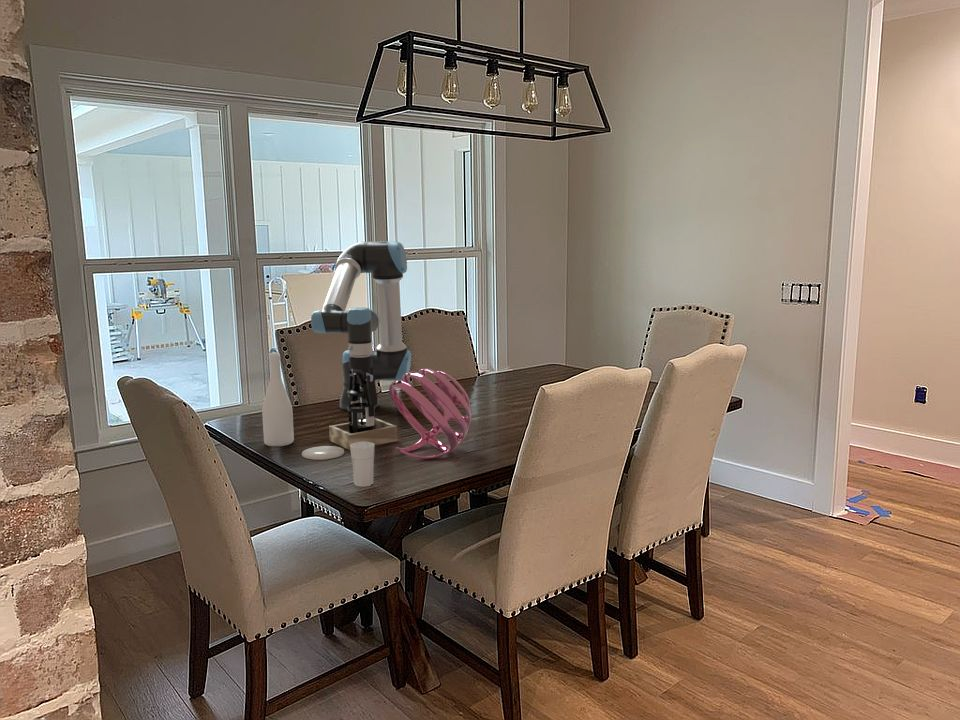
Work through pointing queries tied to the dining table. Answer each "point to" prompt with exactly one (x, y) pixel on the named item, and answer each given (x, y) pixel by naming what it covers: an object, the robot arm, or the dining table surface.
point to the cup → (362, 463)
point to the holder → (363, 434)
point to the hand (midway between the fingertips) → (363, 422)
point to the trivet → (323, 452)
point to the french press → (353, 412)
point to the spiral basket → (433, 410)
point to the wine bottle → (277, 408)
